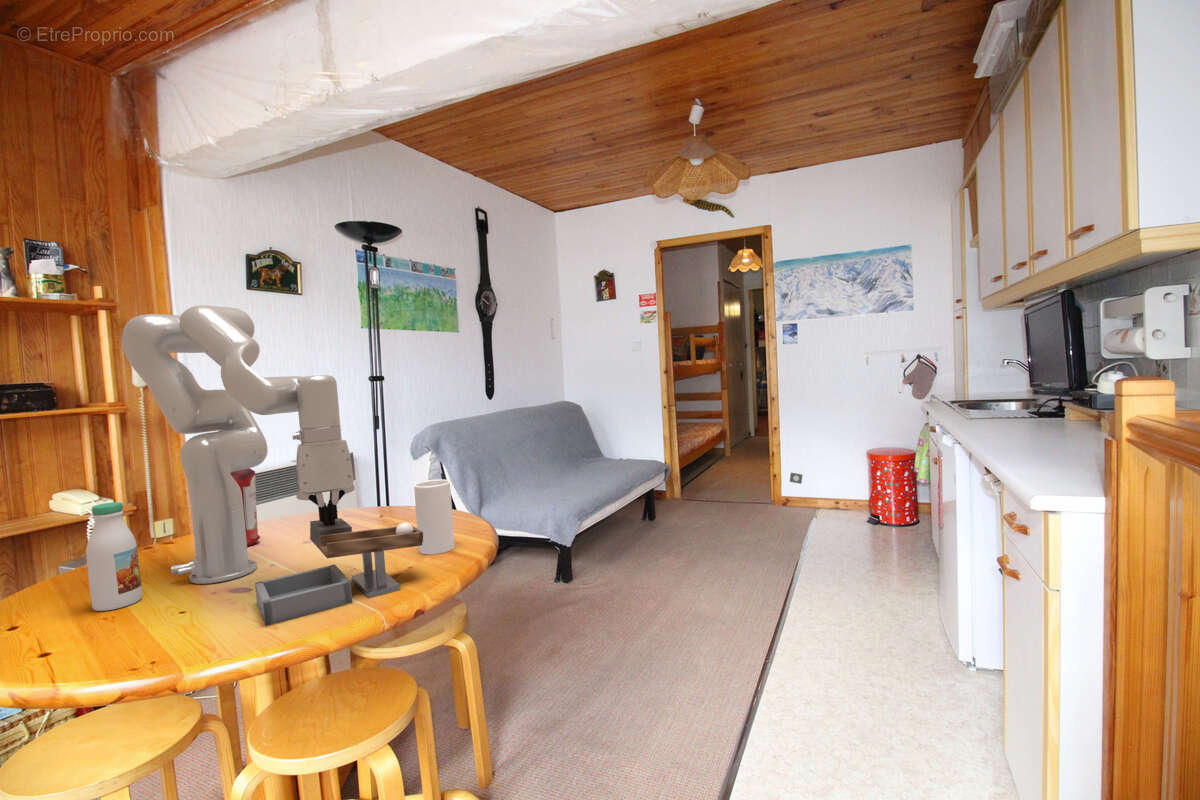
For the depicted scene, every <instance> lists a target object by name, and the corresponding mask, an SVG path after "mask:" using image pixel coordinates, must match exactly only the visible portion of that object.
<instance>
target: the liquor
mask: <svg viewBox="0 0 1200 800" xmlns="http://www.w3.org/2000/svg"><path fill="white" fill-rule="evenodd" d="M230 474H231V476H232V477H233V478H234V480H235V481H236V482H237V484H238V485H239V487H240V489H241V492H242V500H243V510H244V520H245V531H246V542H247V547H252V546H254V545H256V544H257V542H258V541H259V540H260V538H261V536H260V535H259V533H258V532H259V530H258V515H257V483H256V482H257V481H256V471H255V470H253V468H248V469H244V470H239V471H235V472H232V473H230Z"/></svg>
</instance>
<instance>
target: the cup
mask: <svg viewBox="0 0 1200 800" xmlns="http://www.w3.org/2000/svg"><path fill="white" fill-rule="evenodd" d="M413 491H414V503H415V513H416V515H415V516H416V528H417V529H418V530H420V531H422V532H423V542H422V546H418V552H419V553H420V554H422V555H437V554H438V555H441V554H444V553H447V552H450V551H453V550H454V548H455V547H456V545H455V534H454V520H453V518H454V517H453V505H452V492H451V482H450V480H449V479H430V480H429V479H428V480H423V481H419V482H416V483H414V485H413Z"/></svg>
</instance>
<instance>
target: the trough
mask: <svg viewBox="0 0 1200 800" xmlns="http://www.w3.org/2000/svg"><path fill="white" fill-rule="evenodd" d="M309 522H310V525H309V526H310V527H309V532H310V533H309V540H311V542H312V544H314V546H316V548H317V549H318V550H319V551H320V552H321V553H322V554H323V556H324V557H325V558H326V559H335V558H340V557H341V558H342V557H347V556H348V557H349V556H354V555H355V556H356V555H361V554H364V553H371V554H372V553H374V552H375V551H379V550H383V551H384V552H385V551H393V550H399V549H406V548H407V549H408V548H413V547H419V546H422V542H423V532H422V531H420V530H418V529H417V527H415V526H413V525H412V527H413V533H405V534H397V535H396V528H397V526H390V527H383V528H381V527H380V528H374V529H373V528H372V529H366V530H357V531H353V526H351V524H349V523H348V522H346V521H345V520H344V519H343V518H342V517H340V518H339V517H338V519H335V524H333V525H332V524H330V523H329V525H328V526H325V525H324V524H323V522H320V520H319V519H318V520H310V521H309Z"/></svg>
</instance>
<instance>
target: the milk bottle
mask: <svg viewBox="0 0 1200 800" xmlns="http://www.w3.org/2000/svg"><path fill="white" fill-rule="evenodd" d="M123 513H124V506H123V502H121V501H111V502H103V503H100V504H99V503H98V504H96V505H93V506H92V507H91V514H92V518H93V519H94V524H93V525H94V526H93V529H92V532H91V534H90V535H89V538H88V541H87V544H86V551H85V552H86V554H85V555H86V564H87V565H86V567H87V575H88V576H87V577H88V585H89V586H88V587H89V594H90V602H91V603H90V604H91V608H92V610H93V611H95V612H105V611H112V610H117V609H122V608H125V607H128V606H130V605H133V604H135V603H137V602H139V601H140V600H142V597H143V589H142V588H143V587H142V580H141V571H140V569H141V568H140V562H139V561H140V560H139V552H138V545H137V540H136V538H135V536H134V533H133V531H132V530H131V529H130V528H129V527H128V526H127V524H126V522H125V520H124V518H123Z"/></svg>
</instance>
